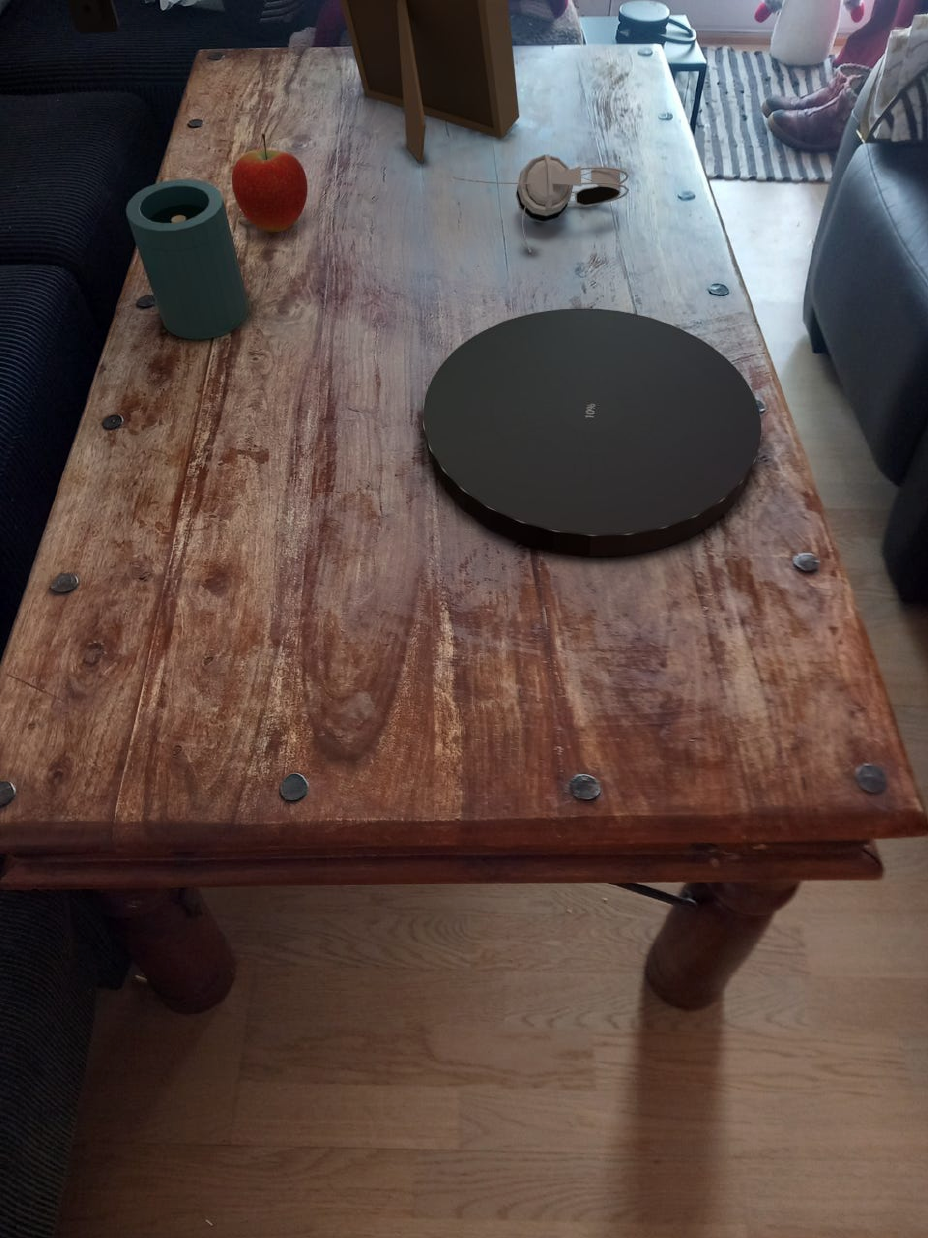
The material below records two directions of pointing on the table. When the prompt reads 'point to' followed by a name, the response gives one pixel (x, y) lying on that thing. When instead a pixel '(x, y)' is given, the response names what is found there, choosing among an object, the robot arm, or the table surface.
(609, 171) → the headphones
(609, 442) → the disc
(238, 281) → the jar
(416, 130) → the photo frame
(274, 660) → the table surface
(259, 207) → the apple
